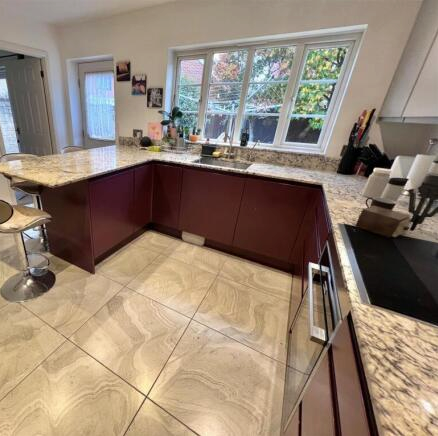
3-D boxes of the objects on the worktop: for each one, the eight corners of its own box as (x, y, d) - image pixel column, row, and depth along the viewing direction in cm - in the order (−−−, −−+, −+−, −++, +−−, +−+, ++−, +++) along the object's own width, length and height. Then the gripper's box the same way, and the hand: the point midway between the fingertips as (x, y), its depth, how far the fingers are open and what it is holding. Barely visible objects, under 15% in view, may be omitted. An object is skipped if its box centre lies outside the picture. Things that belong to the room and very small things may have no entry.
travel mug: (392, 218, 119) (412, 180, 110) (376, 216, 121) (395, 178, 112) (385, 213, 124) (404, 177, 116) (370, 211, 126) (388, 175, 118)
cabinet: (400, 232, 103) (410, 215, 100) (390, 238, 98) (400, 220, 95) (366, 221, 113) (374, 205, 110) (355, 226, 108) (362, 209, 104)
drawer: (408, 233, 101) (416, 219, 98) (399, 238, 96) (407, 224, 93) (372, 222, 111) (378, 209, 108) (362, 226, 106) (368, 212, 103)
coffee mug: (390, 223, 112) (400, 204, 108) (368, 220, 115) (378, 201, 110) (378, 214, 122) (387, 197, 118) (358, 212, 125) (366, 194, 120)
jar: (382, 200, 145) (396, 171, 137) (362, 197, 150) (374, 169, 142) (378, 196, 152) (391, 169, 145) (359, 193, 157) (371, 166, 150)
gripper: (415, 172, 92) (388, 226, 102) (464, 179, 82) (430, 238, 91) (421, 171, 95) (395, 222, 105) (469, 177, 85) (436, 234, 95)
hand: (411, 230), depth 98 cm, fingers closed
